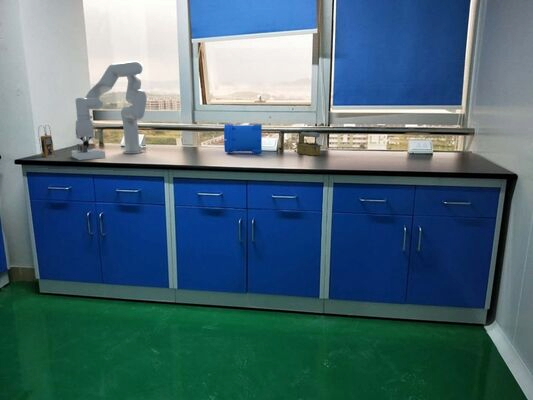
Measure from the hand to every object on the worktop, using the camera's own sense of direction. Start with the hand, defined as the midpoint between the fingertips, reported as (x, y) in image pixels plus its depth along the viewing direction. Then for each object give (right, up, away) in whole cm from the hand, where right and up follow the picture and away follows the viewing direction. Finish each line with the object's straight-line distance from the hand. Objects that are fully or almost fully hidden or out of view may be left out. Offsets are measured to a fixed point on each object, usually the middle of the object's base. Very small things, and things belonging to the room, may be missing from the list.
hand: (86, 147), depth 281 cm
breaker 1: (-6, -1, +3) cm, 7 cm away
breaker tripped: (-2, -2, -1) cm, 3 cm away
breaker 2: (+2, -3, -6) cm, 7 cm away
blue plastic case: (+98, 0, +27) cm, 102 cm away
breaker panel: (+1, -6, +2) cm, 6 cm away
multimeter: (-24, -5, +6) cm, 25 cm away
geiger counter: (+140, -2, +23) cm, 142 cm away
